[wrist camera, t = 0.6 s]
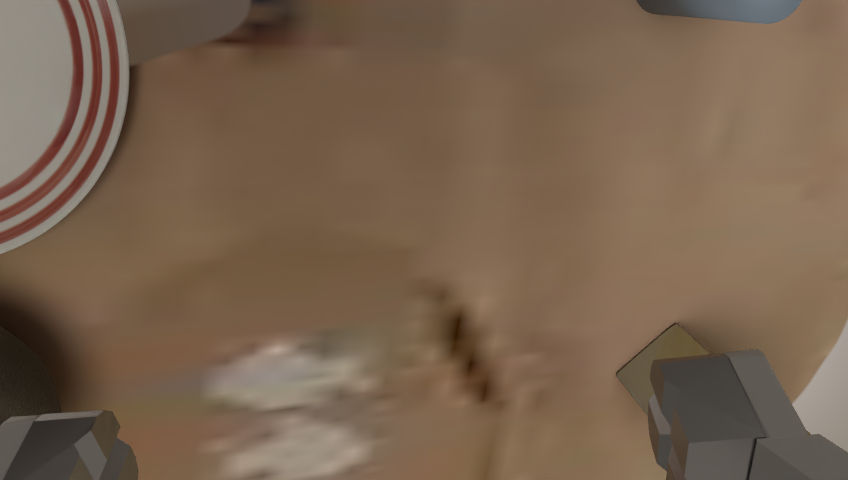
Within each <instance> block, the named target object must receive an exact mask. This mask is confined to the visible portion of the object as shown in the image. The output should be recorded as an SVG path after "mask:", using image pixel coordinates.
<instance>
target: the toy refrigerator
mask: <svg viewBox="0 0 848 480" xmlns="http://www.w3.org/2000/svg"><path fill="white" fill-rule="evenodd" d="M707 354H710V353H709V352H707V351H706V350H705V349H704V348H703V347H702V346H701V345H700V344H699V343H698V342H697V341H696V340H694V339H693V338H692V337H691V336H690V335H689V334H688V333H687V332H686V331H685V330H684V329H683V328H681V327H680V326H679V325H678V324H675V325H674V326H672V327H670V328H669V329H668V330H667V331H665V332H664V333H663V334H662V335H660V336H659V337H658V338H657V339H656V340H655V341H654V342H652V343H651V344H650V345H649V346H648V347H647V348H645V349H644V350H643V351H642V352H641V353H640V354H638V355H637V356H636V357H635V358H634V359H633V360H632V361H630V362H629V363H628V364H627V365H626V366H625V367H624V368H623V369H622V370H620V371H619V372H618V373H617V377H618V379H619V380H620V381H621V383H622V384H623V385H624V386H625V388H626V389H627V390H628V391H629V393H630V394H631V395H632V397H633V398H634V399H635V400H636V402H637V403H638V404H639V405H640V407H641V408H642V409H643V411H644V412H645V413H646V414H647V416H648V400H649V399H650V398H651V397H652V396H653V395H654V394H655V392H654V390H653V387H652V384H651V381H650V372H651V365H652V363H653V360H657V359H667V358H677V357H687V356H697V355H707ZM806 431H807V430H806ZM807 433H808V435H811V434H810V433H809V432H808V431H807Z"/></svg>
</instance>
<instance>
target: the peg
mask: <svg viewBox="0 0 848 480" xmlns="http://www.w3.org/2000/svg"><path fill="white" fill-rule="evenodd" d="M801 1H802V0H637V2H638V4H639V5H640V6H641V7H642V8H643V9H644V10H646V11H647V12H650V13H653V14H661V15H672V16H684V17H695V18H707V19H718V20H729V21H741V22H752V23H764V24H769V23H775V22H778V21H781V20H783V19H785V18H786V17H788V16H789V15H790V14H791V13H793V12H794V11H795V9H796V8H797V7H798V6H799V4H800V3H801Z"/></svg>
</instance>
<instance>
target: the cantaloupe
mask: <svg viewBox="0 0 848 480" xmlns="http://www.w3.org/2000/svg"><path fill="white" fill-rule="evenodd" d="M54 413H62V412H61V407H60V404H59V401H58V397H57V393H56V390H55V387H54V383H53V381H52V378H51V376H50V374H49V372H48V370H47V369H46V367H45V365H44V364H43V363H42V361H41V360H40V359H39V358H38V357H37V356H36V354H35V353H34V352H33V351H32V350H31V349H30V348H29V347H28V346H27V345H25V344H24V343H23V342H22V341H21V340H20V339H19V338H17V337H16V336H15V335H13V334H12V333H10V332H9V331H7V330H6V329H4V328H2V327H0V425H1V424H2V423H3V422H5V421H6V420H7V419H9V418H10V417H17V416H33V415H42V414H54Z"/></svg>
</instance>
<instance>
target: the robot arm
mask: <svg viewBox="0 0 848 480" xmlns="http://www.w3.org/2000/svg"><path fill="white" fill-rule="evenodd" d="M650 381H651V384H652V387H653V390H654V392H655V394H654V395H653V396H652V397H651V398H650V399H649V400H648V425H649V435H650V440H651V444H652V449H653V452H654V455H655V458H656V462H657V464H658V465H660V466H661V467H662V468H663V469H665V470H666V471H667V475H666V480H848V452H846V451H845V450H843V449H842V448H840V447H839V446H836V445H835V444H834V443H832V442H831V441H829V440H828V439H826V438H825V437H823V436H821V435H820V434H814V435H808V433H807V431H806V429H805V427H804V426H803V424H802V422H801V420H800V418H799V416H798V415H797V413H796V411H795V409H794V407H793V406H792V404H791V402H790V400H789V398H788V396H787V395H786V393H785V391H784V389H783V387H782V386H781V384H780V382H779V380H778V378H777V376H776V375H775V373H774V371H773V369H772V367H771V366H770V364H769V362H768V360H767V358H766V357H765V355H764V353H762V352H761V351H760V350H758V349H756V350H746V351H736V352H726V353H723V354H720V353H717V354H707V355H697V356H687V357H677V358H667V359H657V360H653V363H652V365H651V372H650ZM119 429H120V424H119V423H118V421H117V419H116V417H115V416H114V414H113V412H112V411H106V410H100V411H84V412H69V413H54V414H42V415H33V416H17V417H10V418H9V419H7V420H6V421H5V422H3V423H2V424H1V425H0V480H138V467H137V462H136V457H135V455H134V453H133V451H132V449H131V446H129V445H128V444H126V443H125V442H123V441H121V440H120V439H118V438H117V434H118V432H119Z"/></svg>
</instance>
